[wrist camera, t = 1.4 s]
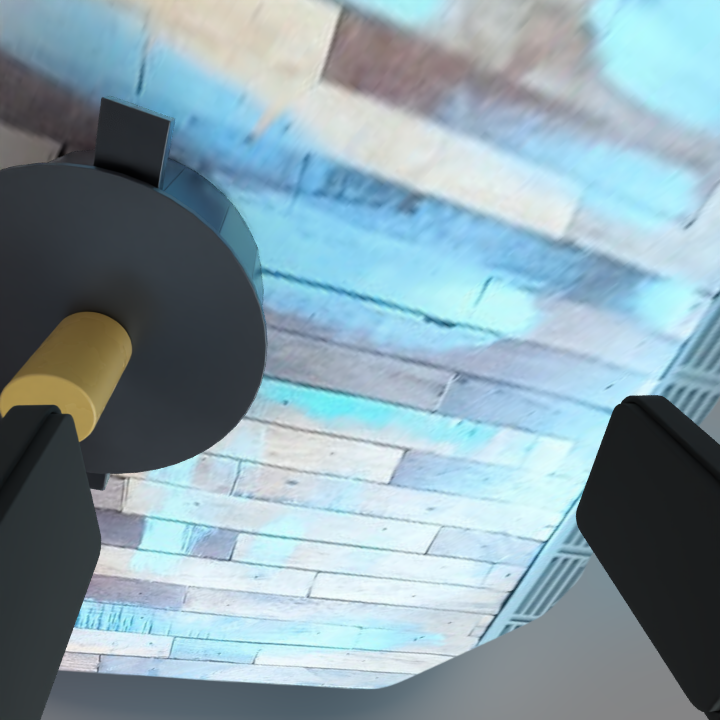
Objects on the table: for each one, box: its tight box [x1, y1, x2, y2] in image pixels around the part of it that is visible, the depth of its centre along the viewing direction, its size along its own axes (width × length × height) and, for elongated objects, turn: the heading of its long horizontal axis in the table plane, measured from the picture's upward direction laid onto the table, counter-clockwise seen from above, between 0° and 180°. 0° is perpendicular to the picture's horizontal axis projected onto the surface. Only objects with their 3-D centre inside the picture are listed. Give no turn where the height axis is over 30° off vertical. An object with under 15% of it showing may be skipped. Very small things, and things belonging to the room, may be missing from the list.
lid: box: [0, 163, 267, 474], centre depth 20 cm, size 14×14×6 cm
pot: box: [48, 96, 264, 490], centre depth 26 cm, size 13×19×8 cm
